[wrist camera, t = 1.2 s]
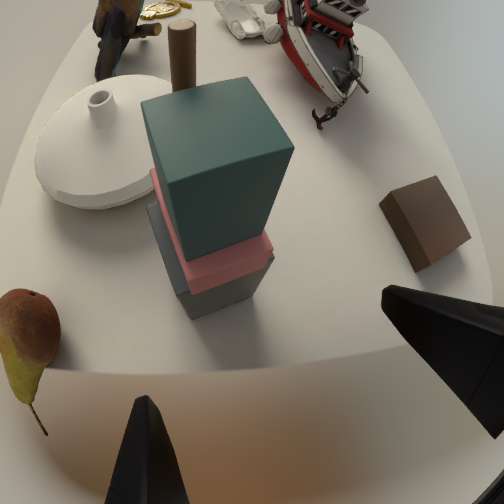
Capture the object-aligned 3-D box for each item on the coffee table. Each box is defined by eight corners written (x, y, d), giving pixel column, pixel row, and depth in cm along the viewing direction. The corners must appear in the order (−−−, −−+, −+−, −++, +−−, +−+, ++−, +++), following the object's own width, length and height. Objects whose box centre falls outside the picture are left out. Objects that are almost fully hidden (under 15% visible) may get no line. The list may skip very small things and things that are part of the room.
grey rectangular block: (252, 295, 23) (275, 257, 15) (190, 320, 22) (176, 296, 13) (227, 238, 24) (235, 174, 16) (168, 260, 23) (145, 204, 15)
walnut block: (457, 246, 27) (471, 237, 25) (415, 273, 26) (430, 264, 23) (424, 186, 29) (436, 175, 27) (378, 203, 27) (390, 191, 25)
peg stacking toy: (264, 267, 14) (338, 127, 6) (192, 295, 14) (156, 176, 5) (221, 174, 16) (236, 10, 7) (156, 196, 15) (116, 34, 6)
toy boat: (319, 21, 41) (377, -40, 25) (343, 162, 36) (454, 96, 20) (250, -5, 36) (301, -80, 20) (244, 135, 31) (344, 21, 15)
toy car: (271, 28, 34) (266, 43, 37) (237, -15, 34) (234, 0, 37) (239, 33, 33) (235, 48, 36) (208, -11, 33) (207, 4, 36)
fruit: (-3, 299, 13) (-4, 443, 12) (75, 314, 17) (59, 444, 17) (-5, 273, 17) (-13, 400, 16) (57, 288, 21) (41, 405, 20)
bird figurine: (149, 87, 28) (157, -70, 16) (70, 98, 27) (73, -51, 15) (169, 75, 38) (174, -42, 26) (107, 81, 37) (110, -33, 25)
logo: (192, 4, 37) (155, 19, 34) (192, 7, 38) (155, 23, 35) (167, -3, 38) (131, 12, 35) (167, 0, 39) (131, 16, 36)
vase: (48, 125, 26) (26, 81, 20) (176, 82, 30) (174, 32, 24) (51, 248, 22) (9, 211, 16) (220, 190, 26) (223, 136, 19)
